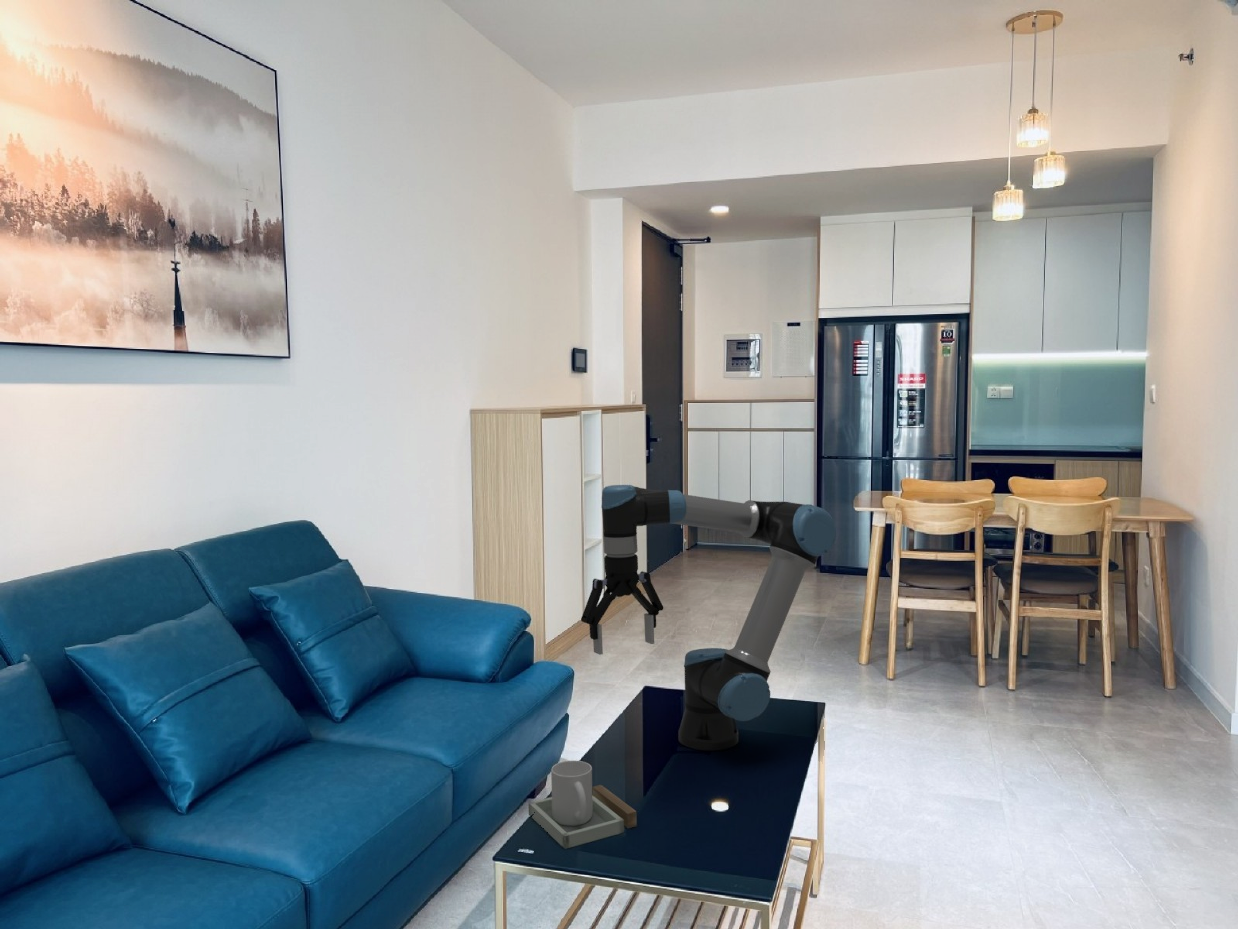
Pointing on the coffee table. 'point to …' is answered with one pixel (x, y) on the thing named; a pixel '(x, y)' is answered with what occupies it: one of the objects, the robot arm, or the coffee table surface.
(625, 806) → the edge rail
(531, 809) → the frame
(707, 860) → the coffee table surface
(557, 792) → the mug
